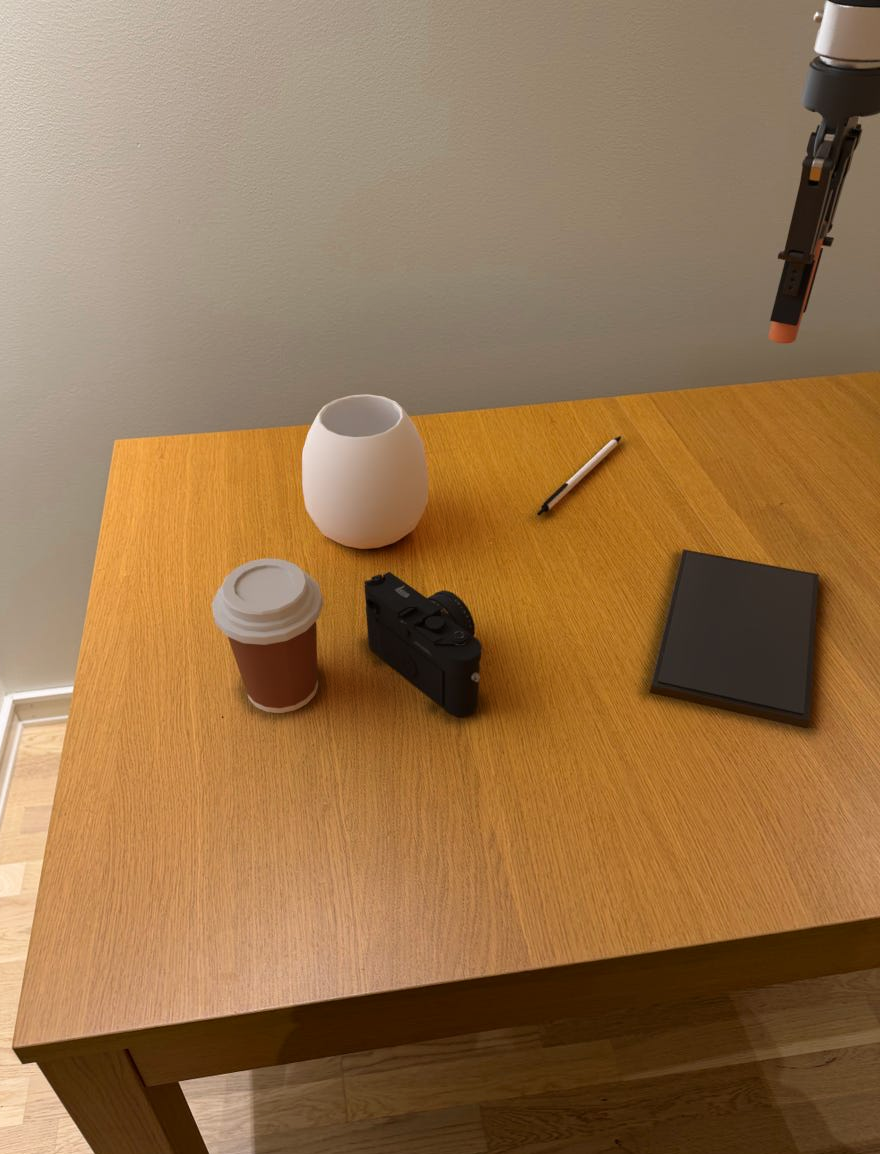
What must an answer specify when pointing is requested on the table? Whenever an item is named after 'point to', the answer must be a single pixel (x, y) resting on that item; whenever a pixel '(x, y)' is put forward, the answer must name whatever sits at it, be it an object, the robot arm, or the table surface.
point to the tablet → (740, 638)
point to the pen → (578, 476)
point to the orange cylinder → (789, 332)
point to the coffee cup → (272, 631)
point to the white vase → (364, 472)
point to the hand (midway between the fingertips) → (788, 315)
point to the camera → (425, 641)
